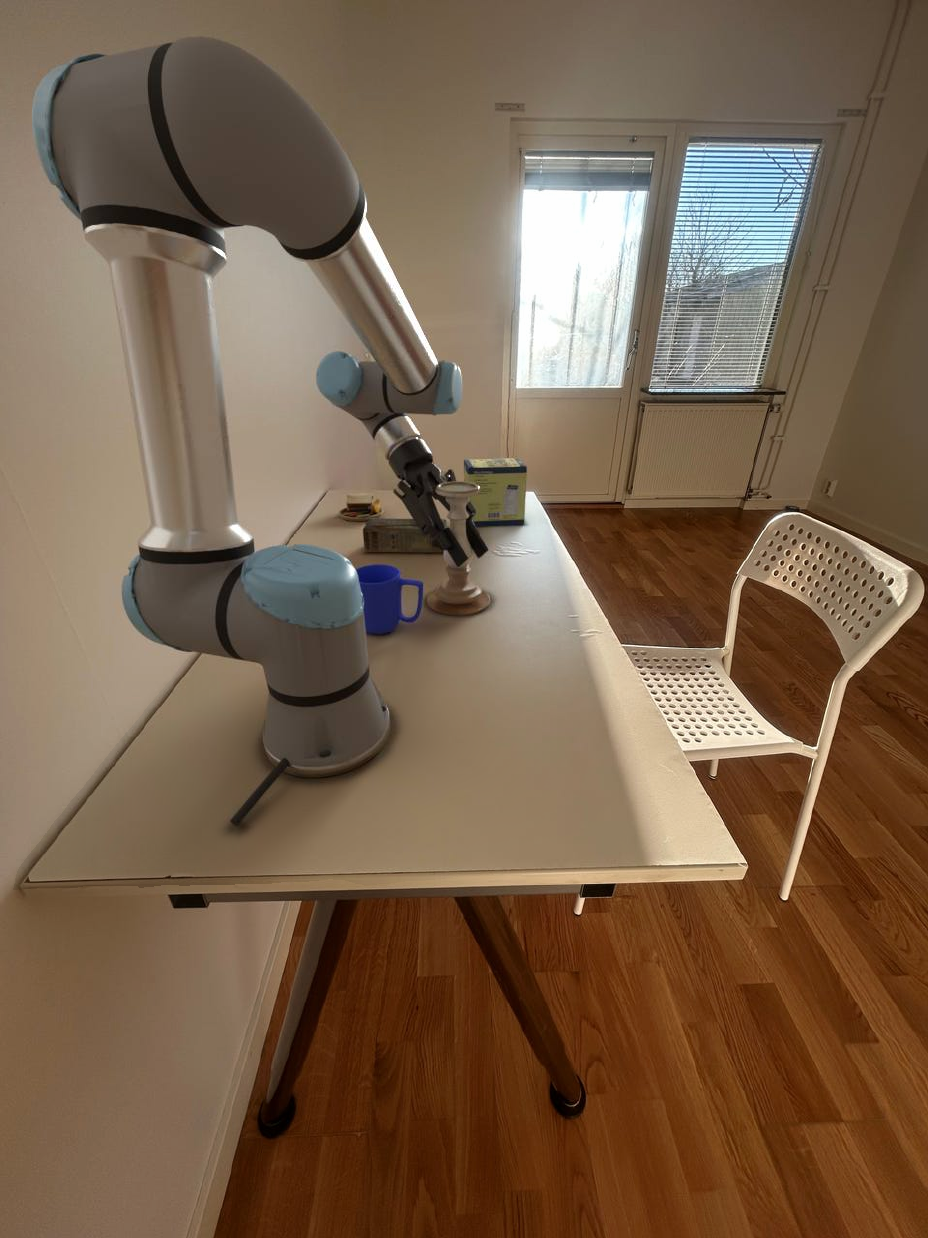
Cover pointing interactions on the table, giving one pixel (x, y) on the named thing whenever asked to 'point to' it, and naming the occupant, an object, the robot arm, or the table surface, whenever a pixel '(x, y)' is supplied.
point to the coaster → (458, 605)
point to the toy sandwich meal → (361, 507)
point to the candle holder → (458, 584)
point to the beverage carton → (398, 536)
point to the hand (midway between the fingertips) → (473, 558)
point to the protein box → (497, 490)
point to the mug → (385, 597)
